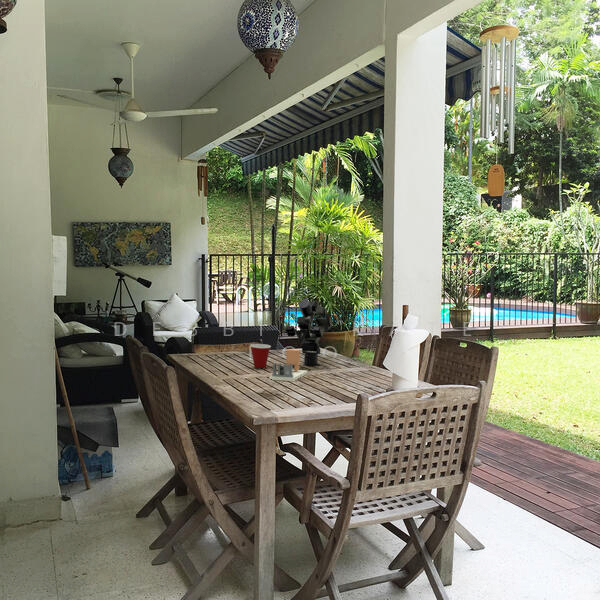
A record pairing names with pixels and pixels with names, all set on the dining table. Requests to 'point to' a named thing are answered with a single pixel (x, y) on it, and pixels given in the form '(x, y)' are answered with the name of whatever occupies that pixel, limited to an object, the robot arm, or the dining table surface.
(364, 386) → the dining table surface
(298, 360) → the marker sleeve
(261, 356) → the plastic cup
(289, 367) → the connector and comb
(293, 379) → the cord board
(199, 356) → the dining table surface
